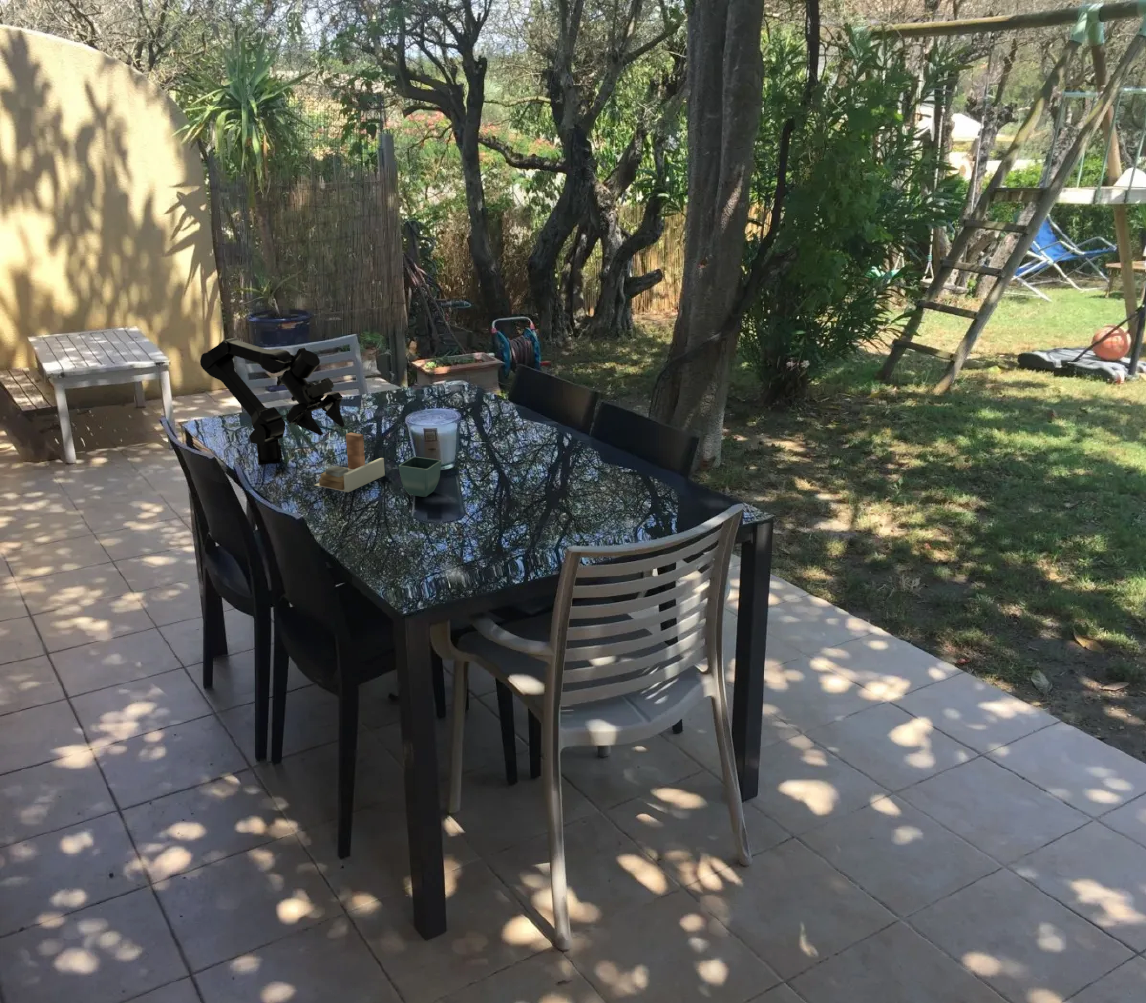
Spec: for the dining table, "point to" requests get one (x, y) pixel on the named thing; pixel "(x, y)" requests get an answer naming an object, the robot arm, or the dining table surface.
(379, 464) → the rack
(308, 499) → the dining table surface
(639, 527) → the dining table surface
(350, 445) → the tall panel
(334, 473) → the offcut stack
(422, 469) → the flower pot
